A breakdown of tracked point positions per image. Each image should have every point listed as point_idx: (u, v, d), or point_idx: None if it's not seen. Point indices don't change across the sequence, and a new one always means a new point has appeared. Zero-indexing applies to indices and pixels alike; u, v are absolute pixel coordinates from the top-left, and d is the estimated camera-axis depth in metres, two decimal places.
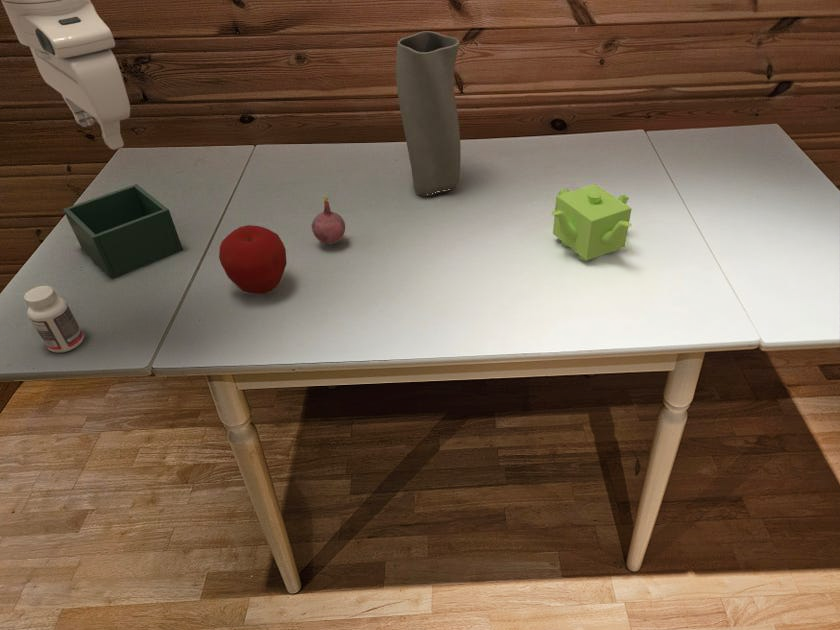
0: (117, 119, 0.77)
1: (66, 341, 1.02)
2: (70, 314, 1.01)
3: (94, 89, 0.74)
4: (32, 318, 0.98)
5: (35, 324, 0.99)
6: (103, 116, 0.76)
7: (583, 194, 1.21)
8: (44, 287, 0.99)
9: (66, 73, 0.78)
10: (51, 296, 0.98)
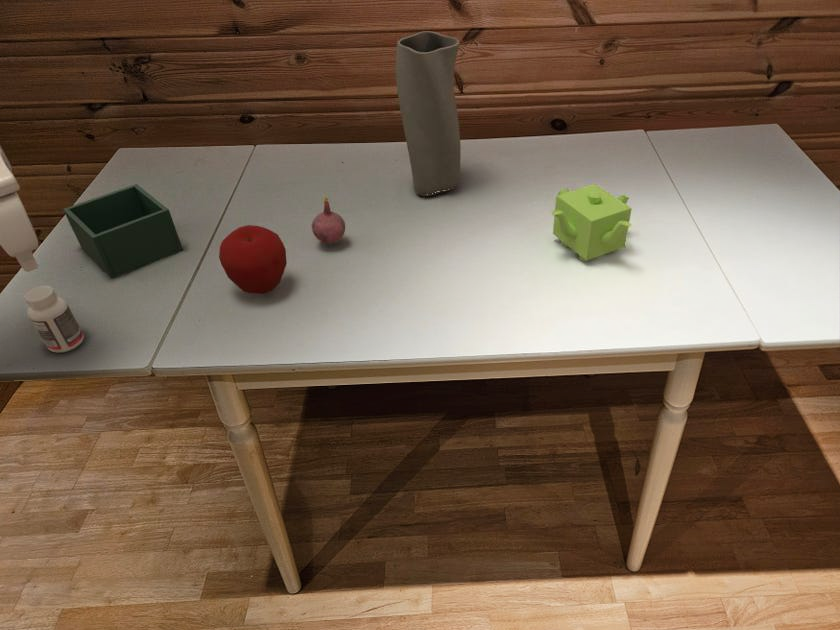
0: (25, 251, 0.85)
1: (66, 341, 1.02)
2: (70, 314, 1.01)
3: (0, 230, 0.81)
4: (32, 318, 0.98)
5: (35, 324, 0.99)
6: (11, 252, 0.83)
7: (583, 194, 1.21)
8: (44, 287, 0.99)
9: None
10: (51, 296, 0.98)
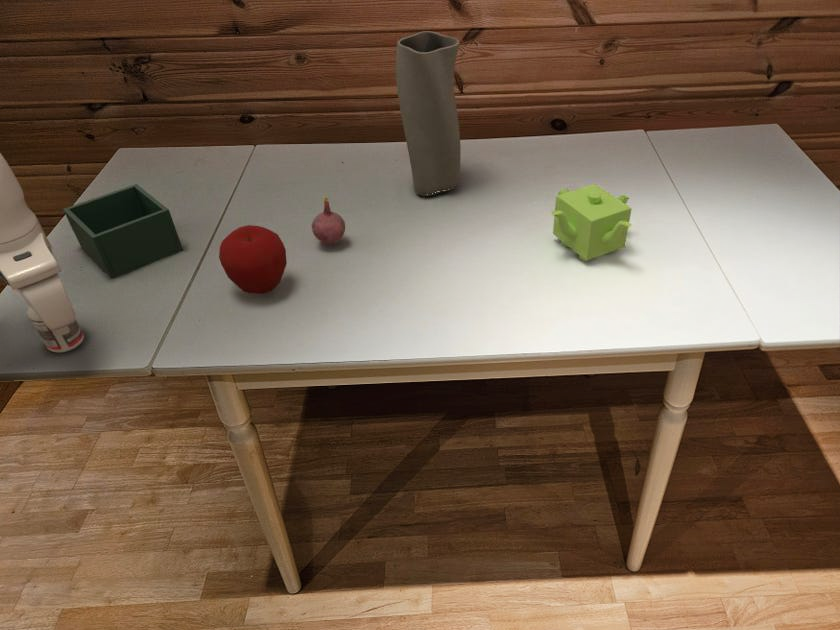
0: (64, 326, 0.93)
1: (66, 341, 1.02)
2: None
3: (43, 308, 0.90)
4: (32, 318, 0.98)
5: (35, 324, 0.99)
6: (51, 327, 0.92)
7: (583, 194, 1.21)
8: None
9: None
10: None
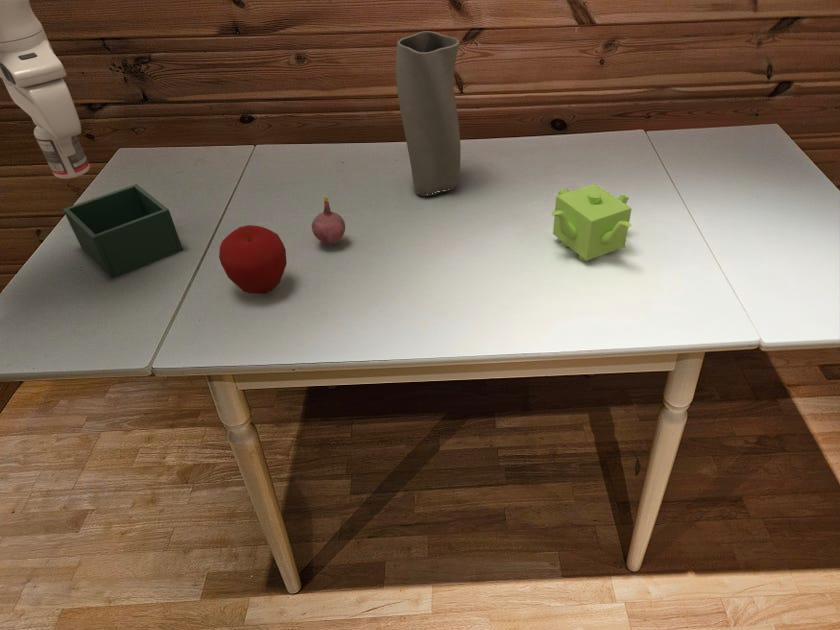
0: (70, 135, 0.94)
1: (73, 166, 1.02)
2: (76, 138, 1.02)
3: (49, 111, 0.91)
4: (38, 136, 0.99)
5: (41, 144, 0.99)
6: (57, 134, 0.92)
7: (583, 194, 1.21)
8: None
9: (28, 97, 0.94)
10: None
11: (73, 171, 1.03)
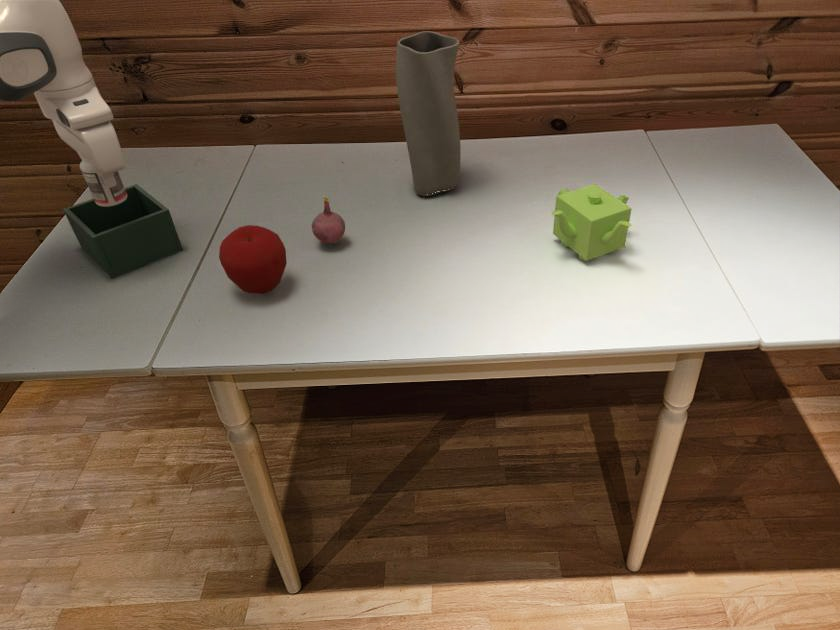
0: (115, 170, 1.06)
1: (113, 196, 1.14)
2: None
3: (98, 150, 1.03)
4: (84, 170, 1.11)
5: (87, 176, 1.11)
6: (104, 169, 1.04)
7: (583, 194, 1.21)
8: None
9: (77, 136, 1.06)
10: None
11: (113, 200, 1.15)
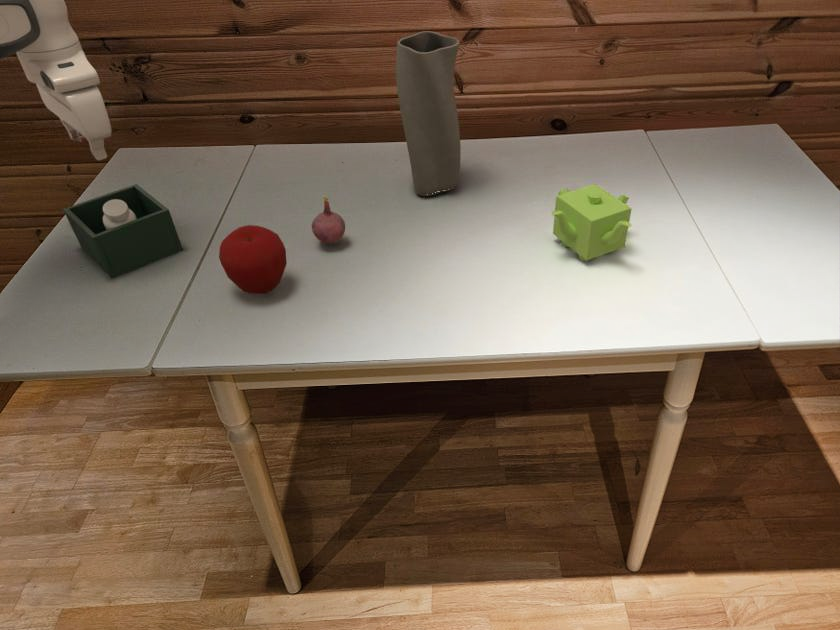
0: (101, 137, 1.02)
1: None
2: None
3: (83, 115, 0.99)
4: (106, 226, 1.16)
5: None
6: (90, 136, 1.01)
7: (583, 194, 1.21)
8: (120, 202, 1.15)
9: (63, 102, 1.03)
10: (125, 213, 1.15)
11: None
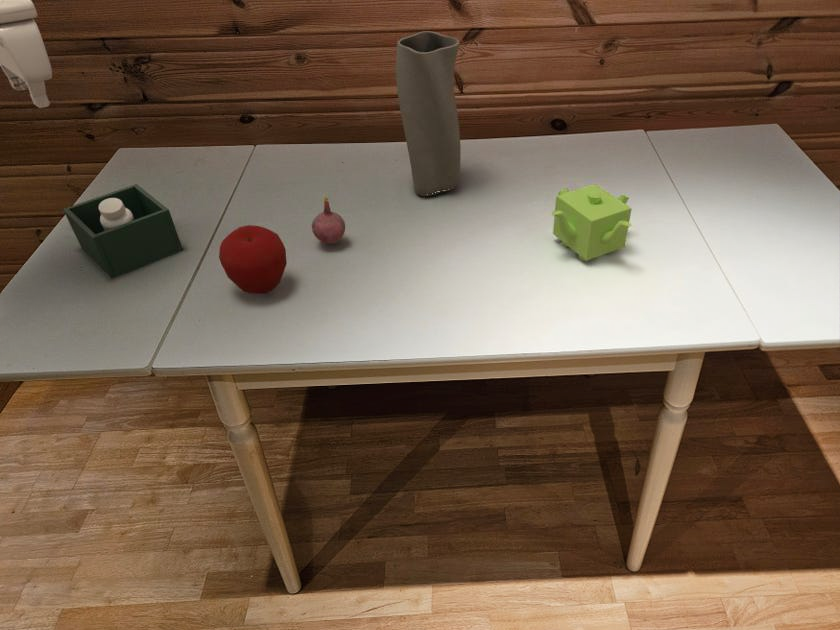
0: (39, 79, 0.91)
1: None
2: None
3: (18, 52, 0.87)
4: (102, 224, 1.16)
5: (104, 228, 1.17)
6: (26, 76, 0.89)
7: (583, 194, 1.21)
8: (116, 200, 1.16)
9: None
10: (119, 211, 1.15)
11: None
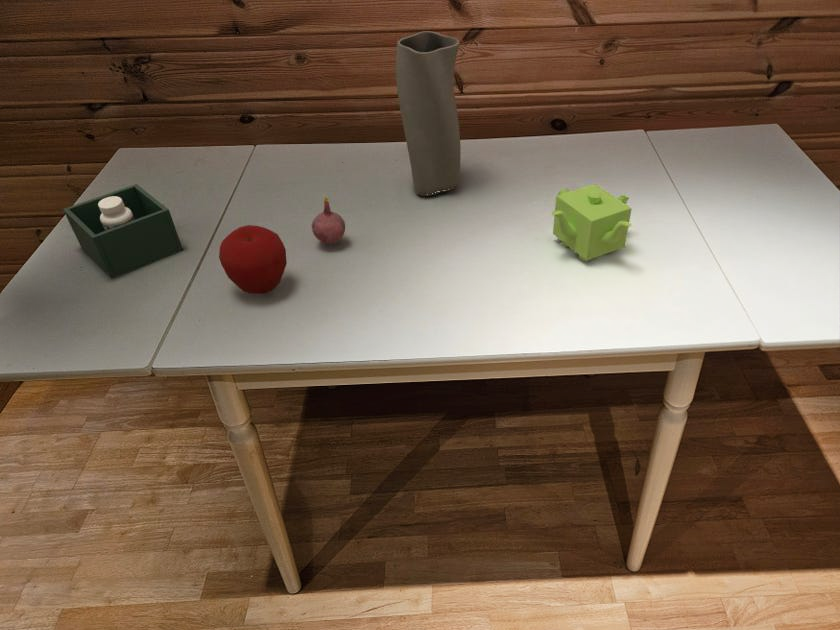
0: None
1: None
2: None
3: None
4: None
5: (103, 226, 1.18)
6: None
7: (583, 194, 1.21)
8: (117, 198, 1.17)
9: None
10: (116, 208, 1.16)
11: None
